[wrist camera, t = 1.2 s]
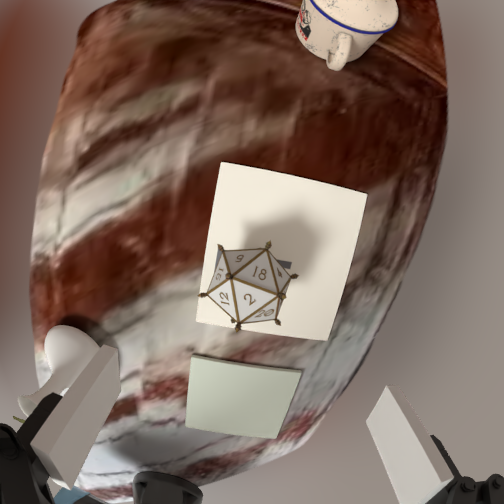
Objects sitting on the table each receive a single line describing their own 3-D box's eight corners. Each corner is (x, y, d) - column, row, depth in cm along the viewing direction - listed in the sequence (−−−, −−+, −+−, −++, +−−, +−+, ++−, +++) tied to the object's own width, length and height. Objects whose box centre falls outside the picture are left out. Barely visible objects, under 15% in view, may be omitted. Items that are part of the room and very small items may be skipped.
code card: (326, 340, 33) (327, 341, 33) (196, 320, 33) (195, 321, 32) (366, 194, 29) (367, 194, 29) (221, 162, 28) (221, 161, 28)
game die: (263, 254, 34) (331, 266, 26) (238, 322, 33) (301, 352, 25) (202, 223, 29) (267, 226, 21) (172, 302, 28) (226, 336, 20)
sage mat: (275, 436, 38) (275, 438, 37) (185, 424, 37) (184, 426, 36) (300, 370, 34) (301, 373, 34) (192, 354, 34) (191, 357, 33)
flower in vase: (66, 304, 32) (-58, 414, 8) (128, 360, 34) (46, 510, 10) (41, 353, 34) (-46, 449, 10) (93, 399, 36) (29, 514, 12)
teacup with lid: (299, -2, 23) (317, -60, 12) (369, 20, 24) (409, -26, 13) (282, 73, 26) (300, 20, 15) (361, 96, 27) (413, 61, 15)
